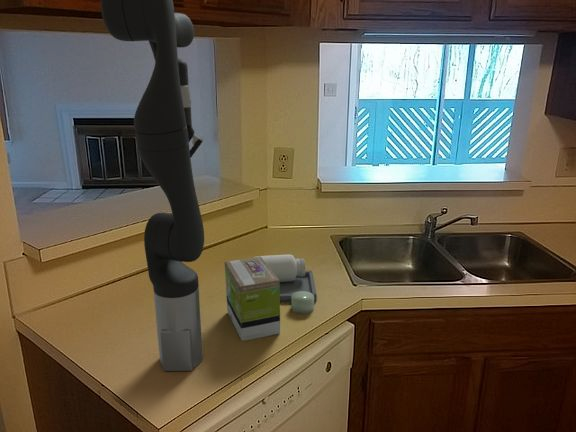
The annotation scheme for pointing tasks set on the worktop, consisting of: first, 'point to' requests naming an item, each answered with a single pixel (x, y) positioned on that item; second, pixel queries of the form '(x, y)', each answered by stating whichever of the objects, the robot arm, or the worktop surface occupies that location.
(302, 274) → the pill bottle
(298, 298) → the squat mint cylinder
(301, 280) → the tray
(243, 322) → the tea box
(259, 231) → the worktop surface
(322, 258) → the worktop surface
